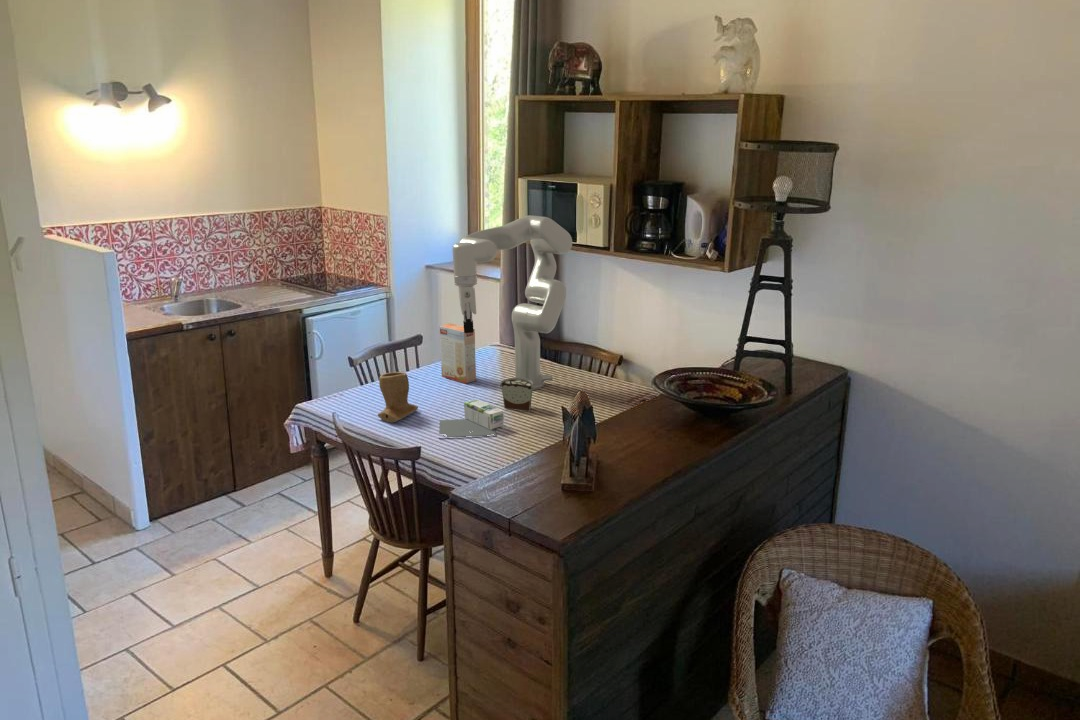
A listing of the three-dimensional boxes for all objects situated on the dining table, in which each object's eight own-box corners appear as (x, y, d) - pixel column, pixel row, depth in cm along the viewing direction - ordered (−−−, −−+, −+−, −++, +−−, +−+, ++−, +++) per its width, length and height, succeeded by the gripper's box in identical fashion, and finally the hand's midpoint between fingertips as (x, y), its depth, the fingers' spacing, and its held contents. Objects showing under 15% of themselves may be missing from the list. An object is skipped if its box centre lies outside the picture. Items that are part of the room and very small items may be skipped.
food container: (539, 406, 280) (539, 379, 277) (533, 412, 274) (533, 384, 271) (506, 402, 283) (506, 375, 280) (500, 408, 278) (499, 381, 275)
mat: (493, 419, 268) (493, 417, 268) (495, 436, 253) (495, 434, 253) (439, 421, 266) (439, 420, 266) (439, 439, 252) (439, 437, 251)
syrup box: (477, 398, 269) (503, 409, 259) (477, 414, 271) (504, 426, 260) (463, 402, 265) (490, 413, 255) (464, 419, 267) (490, 430, 257)
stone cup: (394, 406, 280) (391, 365, 276) (422, 410, 276) (420, 370, 271) (368, 420, 267) (365, 378, 263) (397, 425, 262) (395, 383, 258)
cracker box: (477, 380, 306) (475, 328, 300) (465, 384, 302) (463, 331, 296) (452, 373, 315) (450, 322, 309) (441, 376, 311) (438, 325, 305)
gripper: (478, 284, 258) (481, 337, 264) (475, 274, 272) (478, 325, 278) (455, 285, 257) (458, 339, 263) (453, 275, 271) (456, 326, 277)
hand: (468, 332), depth 270 cm, fingers closed
